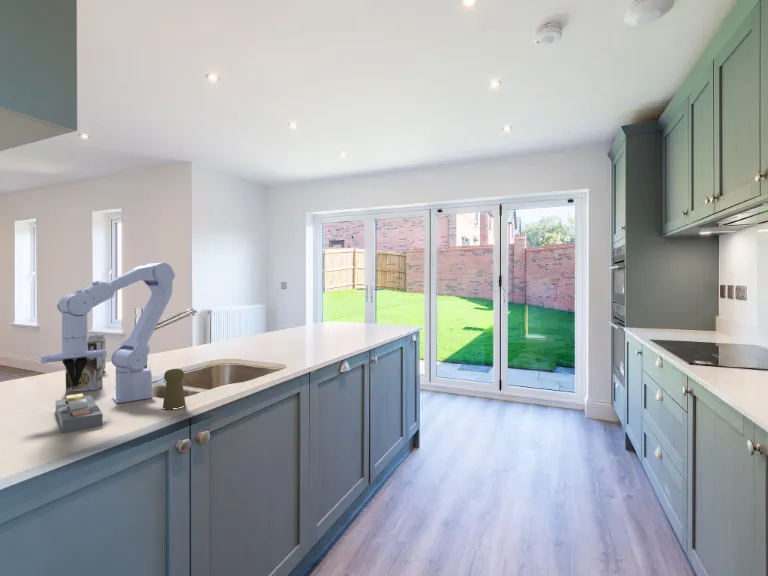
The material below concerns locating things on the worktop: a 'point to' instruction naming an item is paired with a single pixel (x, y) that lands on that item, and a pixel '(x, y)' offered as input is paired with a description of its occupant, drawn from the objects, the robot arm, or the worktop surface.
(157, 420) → the worktop surface
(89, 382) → the coffee box
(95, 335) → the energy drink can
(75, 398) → the brass key
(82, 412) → the terracotta key
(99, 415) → the keypad
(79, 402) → the grey key
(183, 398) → the cork
